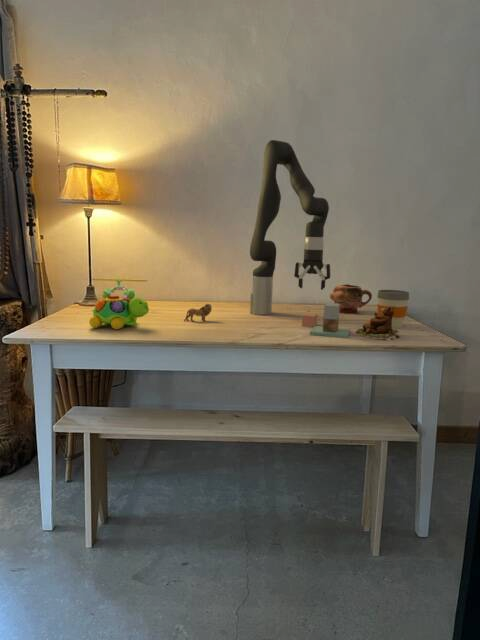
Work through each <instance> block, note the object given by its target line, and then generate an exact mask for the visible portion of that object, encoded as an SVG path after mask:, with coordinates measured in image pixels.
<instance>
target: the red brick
mask: <svg viewBox="0 0 480 640" xmlns="http://www.w3.org/2000/svg"><path fill="white" fill-rule="evenodd" d="M301 319H302V320H301V327H303V328H304V327H305V328H313V327H314V326H317V323H318V313H313V312H312V313H310V312H305V313H303V314H302V318H301Z"/></svg>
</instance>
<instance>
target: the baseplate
mask: <svg viewBox="0 0 480 640" xmlns="http://www.w3.org/2000/svg"><path fill="white" fill-rule="evenodd" d="M350 333H351V328H343V327H338V330H337V332H325V331H323V326H320V325H316V326H314V327H312V329H311V330H310V331H309V335H311V336H319V337H320V336H321V337H331V338H332V337H333V338H341V339H342V338H344V339H348V337H349V335H350Z"/></svg>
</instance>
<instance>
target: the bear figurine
mask: <svg viewBox="0 0 480 640" xmlns="http://www.w3.org/2000/svg"><path fill="white" fill-rule="evenodd" d="M394 308H395V307H394V306H393V307H392V308H391V306H390V307H386V308H382V309H381V310H380V312H378V311H374V317H371V318H370V320H369V321H366V322H365V323H363V325H362V326H361V328H358V329H356V331H355V334H357V335H360V336H362V337H363V338H369V339H375V340H385V341H388V342H389V341H392V340H394V339H396V338H397V337H398V338H399V337H400V336H401V335H400V333H399V332H400V331H399V330H398V329H394V328H392V316H393V315H394Z"/></svg>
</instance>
